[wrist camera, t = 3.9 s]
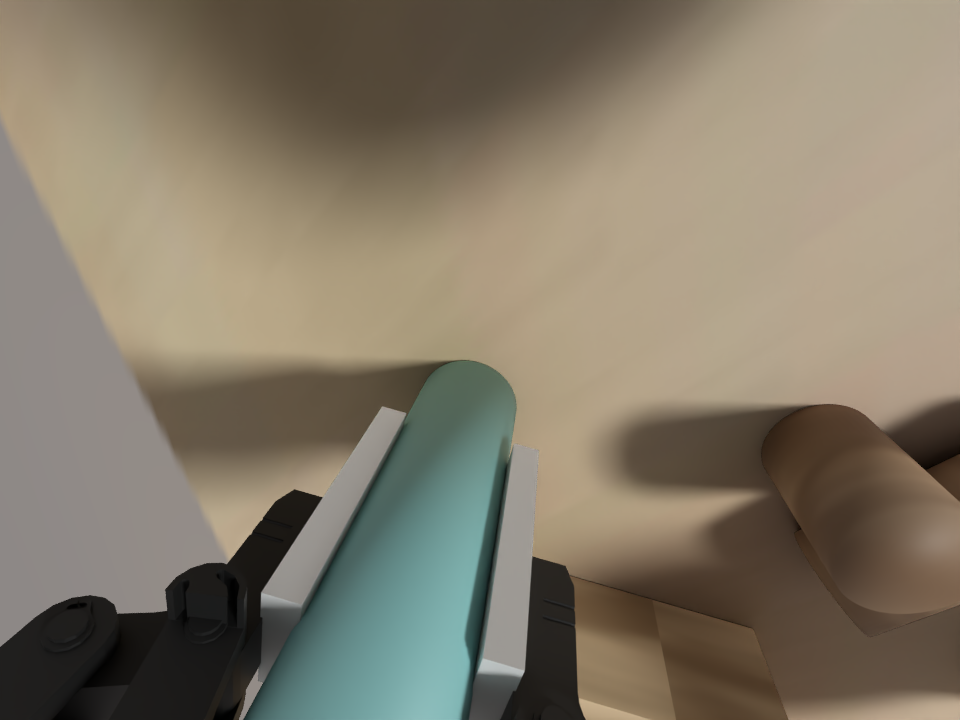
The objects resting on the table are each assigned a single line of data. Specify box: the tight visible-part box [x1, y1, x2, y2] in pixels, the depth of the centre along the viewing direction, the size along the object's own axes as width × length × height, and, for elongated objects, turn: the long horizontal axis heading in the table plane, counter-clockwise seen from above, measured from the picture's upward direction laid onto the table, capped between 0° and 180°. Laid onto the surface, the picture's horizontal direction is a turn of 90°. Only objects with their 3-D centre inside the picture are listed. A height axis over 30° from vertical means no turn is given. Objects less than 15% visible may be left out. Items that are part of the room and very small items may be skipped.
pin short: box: [761, 404, 960, 614], centre depth 15 cm, size 4×4×5 cm
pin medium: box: [794, 454, 960, 637], centre depth 15 cm, size 4×4×8 cm
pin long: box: [243, 361, 516, 720], centre depth 12 cm, size 4×4×14 cm
